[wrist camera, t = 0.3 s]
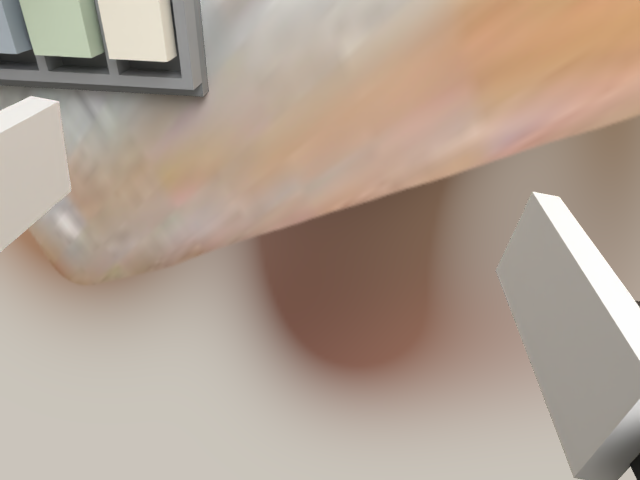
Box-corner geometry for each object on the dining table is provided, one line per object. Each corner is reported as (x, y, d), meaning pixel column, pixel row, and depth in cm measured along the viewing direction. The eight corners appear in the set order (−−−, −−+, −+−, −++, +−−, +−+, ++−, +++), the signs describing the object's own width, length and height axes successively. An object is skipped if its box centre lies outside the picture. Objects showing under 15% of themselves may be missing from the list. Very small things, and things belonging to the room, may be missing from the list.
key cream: (109, -11, 33) (95, -8, 31) (168, -9, 33) (158, -5, 31) (121, 52, 35) (109, 58, 34) (176, 55, 35) (167, 62, 33)
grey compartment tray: (-116, -78, 35) (-162, -79, 32) (193, -67, 33) (175, -67, 30) (-55, 76, 41) (-89, 88, 38) (208, 91, 39) (195, 104, 36)
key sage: (33, -14, 33) (15, -12, 32) (91, -12, 33) (76, -9, 31) (50, 49, 36) (34, 55, 34) (104, 52, 35) (91, 58, 34)
